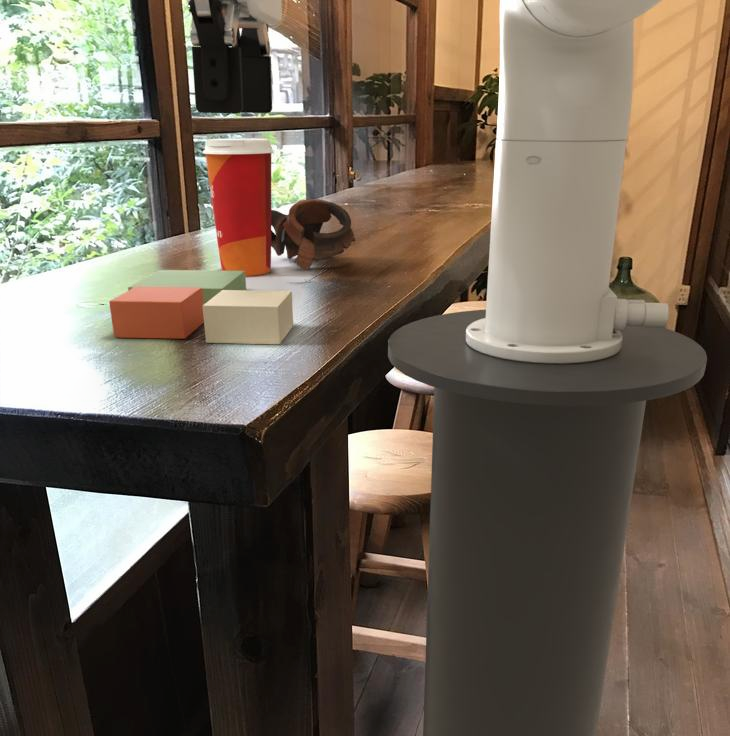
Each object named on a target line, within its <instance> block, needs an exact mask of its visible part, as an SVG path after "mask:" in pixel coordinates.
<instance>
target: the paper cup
mask: <svg viewBox="0 0 730 736" xmlns="http://www.w3.org/2000/svg"><path fill="white" fill-rule="evenodd" d="M272 153H275V151H274V149H272V145H271V140H270V139H269V138H259V137H250V138H247V137H246V138H241V137H240V138H239V137H238V138H210V139H206V140H205V145H204V149H203V150H202V154H204V155H205V160H206V167H207V177H208V183H209V189H210V190H209V191H210V198H211V205H212V211H213V212H212V213H213V220H214V227H215V234H216V235H215V236H216V241H217V248H218V249H217V250H218V256H219V261H220V268H221V271H245V277H252V276H261V275H266V274H269V273H270V272H271V269H272V268H271V267H272V247H271V230H272V225H271V210H272Z"/></svg>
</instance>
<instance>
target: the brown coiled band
mask: <svg viewBox="0 0 730 736" xmlns="http://www.w3.org/2000/svg"><path fill="white" fill-rule="evenodd" d="M332 216H333V217H335V218H336V219H337V220H338V221H339V224H340V226H342V227H341V228H340V229H338V230H336V231H333V232H328V233H327V232H321V230H322V228H323V225H324V223H328V222H329V221H330V220H331V219H332ZM271 227H272V228H273V230H274V231H273V230H272V229H271V248H273V250H274V252H275V253H276V255H277V256H278V257H280V256H282V255H283V254H284V253H285V251H286V257H287V259H288V260H291V259H293V258H294V257H296V258H295V265H296V266H297V267H299V268H301V269H303V270H305V271H308V270H309V269H310V267H311V266H312V265H313V263H314V262H319V261H322V260H325V259H328V258H331V257H334V256H335V257H336V256H338V255H341V254H343V253H345V250H347V249H349V247H350V246H351V244H352V243H353V242H356V238H355V233H354V231H353V229H352V218H351V216H350V214H349V212H347V210H346V209H345V208H343V207H342V206H340V205H339V204H337V203H335V202H332V201H328V200H325V199H320V198H307V199H302V200H299V201H297V202H295V203H294V204H293V205H291V207H290V208H289V210H288V214H286V213H285V214H284V213H282V212H280V211H278V210H276V209H271Z"/></svg>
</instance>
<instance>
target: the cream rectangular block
mask: <svg viewBox="0 0 730 736" xmlns="http://www.w3.org/2000/svg"><path fill="white" fill-rule="evenodd" d="M293 310H294V309H293V291H292V290H255V289H254V290H248V289H246V290H222V291H221V292H219V293H218V294H217V295H216V296H214V297H213V298H212V299H210V300H209V301H208V302H207V303H205V304H204V305H203V314H204V323H203V325H204V334H205V343H206V344H239V345H240V344H246V345H247V344H249V345H281V343H282V342H283V341H284V339H286V337H287V336H288V334H289V333H290V331H291V330H292V328H293V327H294V311H293Z"/></svg>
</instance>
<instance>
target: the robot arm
mask: <svg viewBox="0 0 730 736" xmlns="http://www.w3.org/2000/svg"><path fill="white" fill-rule="evenodd" d="M662 1H663V0H499V83H498V103H497V105H498V106H497V122H496V139H495V151H494V166H493V167H494V169H493V182H492V183H493V185H492V199H491V200H492V201H491V202H492V203H491V205H492V206H491V218H490V233H489V234H490V236H489V251H488V253H489V254H488V268H487V269H488V271H487V285H486V286H487V287H486V302H485V303H486V304H485V310H486V318H483V319H480V320H477V321H475V322H473V323H471V324H470V325H469V326H468V327H467V329H466V342H467V344H468V345H469V346H470V347H471V348H473V349H474V350H476V351H478V352H480V353H483V354H486V355H489V356H492V357H496V358H501V359H505V360H511V361H518V362H527V363H539V364H574V363H585V362H592V361H597V360H602V359H605V358H608V357H611V356H613V355H615V354H616V353H618V352H619V351H620V349H621V346H622V338H623V336H622V334H621V332H620V331H624V329H625V327H626V326H641V327H650V328H667V327H666V326H667V325H668V321H669V316H670V308H669V304H668V302H646V301H645V299H627V298H618V296H617V294H615V292H614V291H613V290H612V289H611V288H610V279H611V271H612V265H613V264H612V263H613V256H614V255H613V254H614V246H615V238H616V232H617V231H616V229H617V221H618V214H619V207H620V206H619V205H620V196H621V188H622V182H623V181H622V180H623V172H624V164H625V157H626V146H627V140H628V136H629V129H630V128H629V127H630V119H631V110H632V97H633V87H634V86H633V84H634V31H635V30H634V27H635V25H634V24H635V19H637V18H638V17H640V16H642V15H644V14H646V13H647V12H648V11H649V10H651V9H653V8H654V7H655V6H656V5H658V4H660V2H662ZM186 3H187V6H188V7H189V8H188V11H189V13H190V14H191V24H190V31H189V35H190V42H191V45H192V46H191V52H192V53H191V54H192V57H191V58H192V72H193V88H194V102H195V110H196V111H197V112H198V113H200V114H241V113H242V114H270V113H271V112H272V111H273V83H272V81H273V80H272V56H270V55H271V43H270V38H269V26H271V27H277V26H278V25H279V24H280V23H281V21H282V19H283V1H282V0H186ZM240 29H241V31H240Z"/></svg>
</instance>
